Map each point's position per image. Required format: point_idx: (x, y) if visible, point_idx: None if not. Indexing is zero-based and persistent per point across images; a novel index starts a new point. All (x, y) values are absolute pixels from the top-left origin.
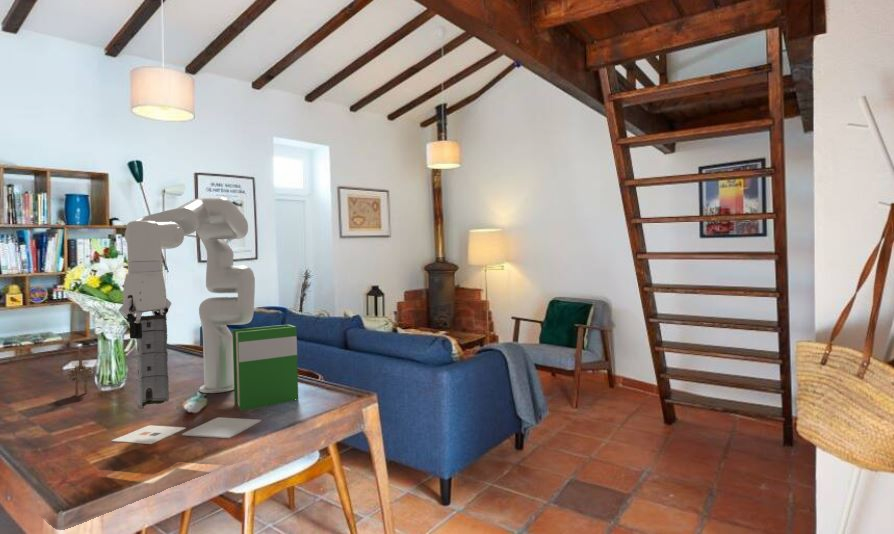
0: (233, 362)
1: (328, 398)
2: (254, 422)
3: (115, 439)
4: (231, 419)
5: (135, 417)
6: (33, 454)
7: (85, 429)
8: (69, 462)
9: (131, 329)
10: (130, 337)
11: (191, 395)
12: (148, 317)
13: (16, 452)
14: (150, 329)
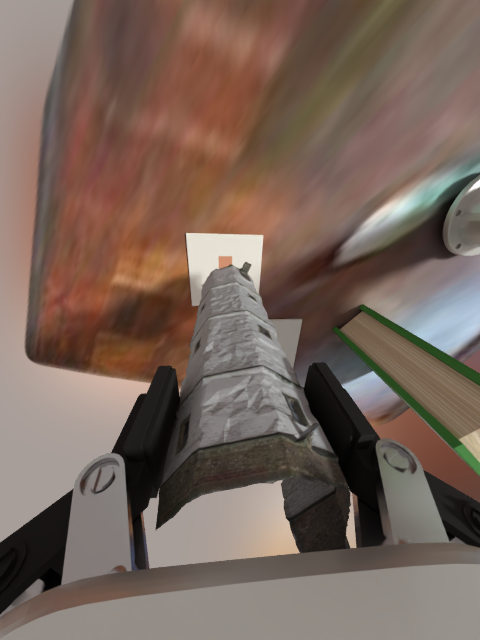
0: (426, 344)
1: (380, 394)
2: None
3: (191, 236)
4: (292, 343)
5: (312, 153)
6: (88, 130)
7: (229, 94)
8: (99, 246)
9: (130, 427)
10: (159, 368)
11: (471, 155)
12: (316, 464)
13: (75, 64)
14: (291, 388)
